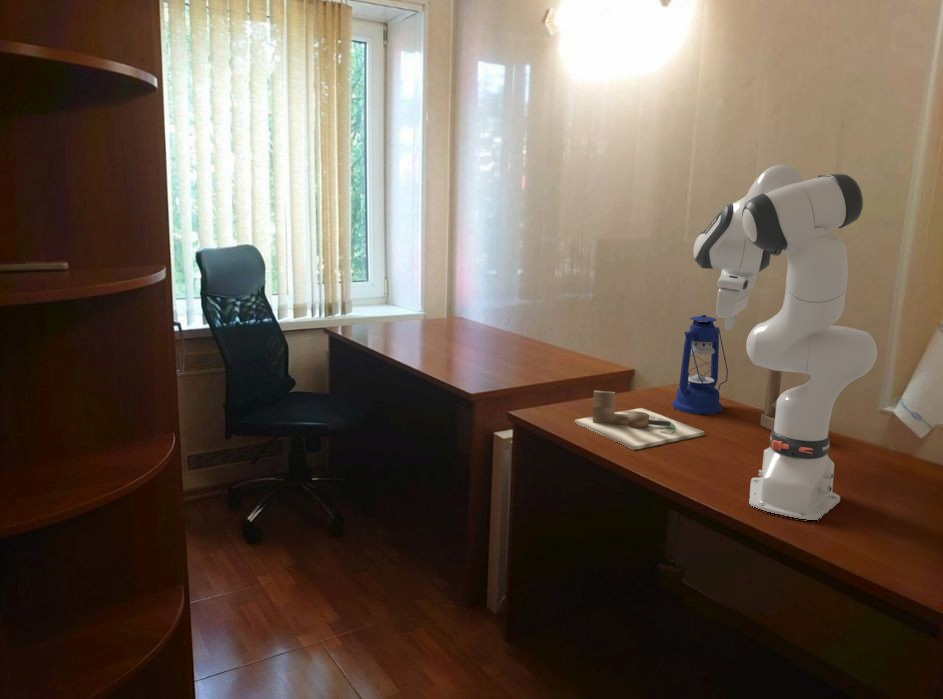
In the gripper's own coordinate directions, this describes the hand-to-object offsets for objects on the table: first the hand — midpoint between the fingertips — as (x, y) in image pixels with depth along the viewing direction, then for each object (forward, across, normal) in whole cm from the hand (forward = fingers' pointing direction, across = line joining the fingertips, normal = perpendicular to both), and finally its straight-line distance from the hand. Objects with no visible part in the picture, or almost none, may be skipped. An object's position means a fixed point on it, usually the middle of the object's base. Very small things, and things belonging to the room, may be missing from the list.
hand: (728, 328), depth 193 cm
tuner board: (+33, +6, -19) cm, 38 cm away
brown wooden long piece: (+32, +7, -21) cm, 38 cm away
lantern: (+33, -24, -10) cm, 42 cm away
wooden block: (+30, -14, +16) cm, 37 cm away
